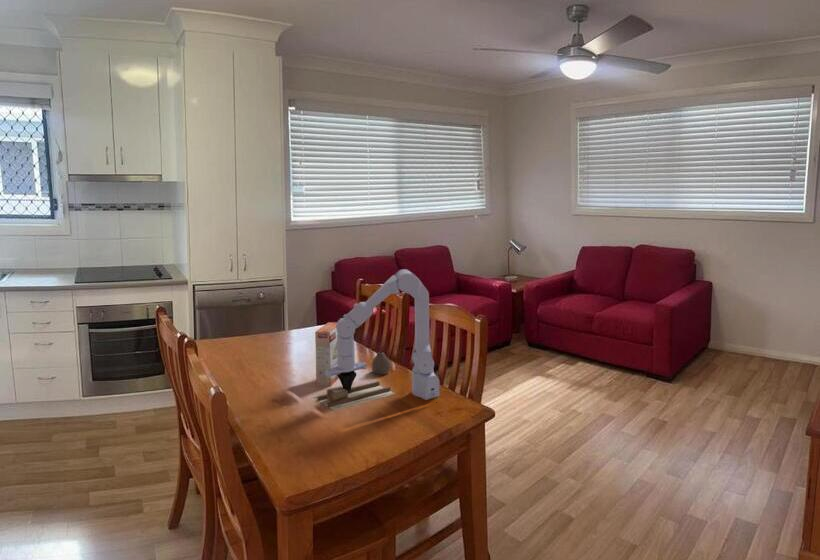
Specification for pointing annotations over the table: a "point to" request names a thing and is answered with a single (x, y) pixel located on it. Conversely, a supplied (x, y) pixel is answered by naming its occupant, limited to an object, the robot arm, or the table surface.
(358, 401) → the birch board
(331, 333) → the cracker box
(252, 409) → the table surface
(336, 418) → the table surface
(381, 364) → the vase
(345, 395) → the block
